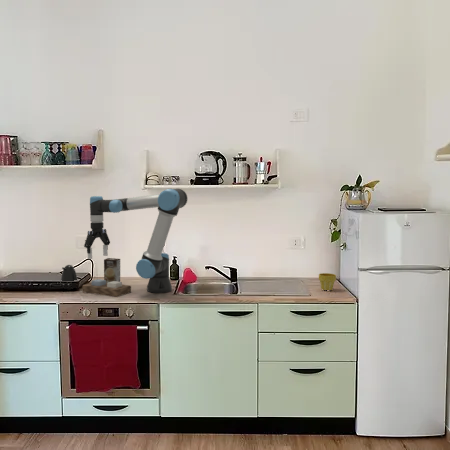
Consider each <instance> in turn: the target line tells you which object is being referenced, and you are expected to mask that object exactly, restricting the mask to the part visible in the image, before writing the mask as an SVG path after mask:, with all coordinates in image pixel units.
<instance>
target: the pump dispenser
mask: <svg viewBox="0 0 450 450" xmlns="http://www.w3.org/2000/svg"><path fill="white" fill-rule="evenodd" d="M61 268H62V269H61V270H62V273H61V276H60V277H61V278H60V281H61V280H62V281H74V280H77V279H78V274H77V271H76V269H75V268H74V266H73V265H72V264H67V265H65V266H64V267H61Z"/></svg>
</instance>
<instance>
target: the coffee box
mask: <svg viewBox="0 0 450 450" xmlns="http://www.w3.org/2000/svg"><path fill="white" fill-rule="evenodd" d="M103 280H106V283H109V282H112V281H117V282H121V258H115V257H113V258H112V257H111V258H110V257H107V258H105V259H103Z"/></svg>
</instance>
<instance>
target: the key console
mask: <svg viewBox="0 0 450 450" xmlns="http://www.w3.org/2000/svg"><path fill="white" fill-rule="evenodd" d="M82 293H87V294H88V293H89V294H95V295H100V296H101V295H102V296H109V297H117V298H118V297H121V296H124V295H127V294H129V293H132V285H126V284H122V286H121V287H118V288H110V287H107V283H106V284H105V285H102V286H95V285H92V282H89V283H86V284H83V285H82Z"/></svg>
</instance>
